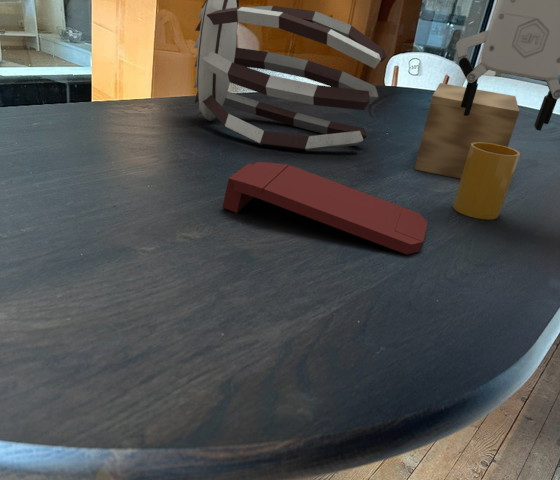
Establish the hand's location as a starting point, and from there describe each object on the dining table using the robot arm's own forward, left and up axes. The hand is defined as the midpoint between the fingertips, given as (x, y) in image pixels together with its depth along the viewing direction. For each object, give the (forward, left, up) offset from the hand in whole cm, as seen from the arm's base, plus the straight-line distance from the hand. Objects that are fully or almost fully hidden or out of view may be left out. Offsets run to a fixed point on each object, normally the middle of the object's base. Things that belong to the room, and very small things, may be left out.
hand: (501, 121), depth 80 cm
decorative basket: (+38, -22, -13) cm, 45 cm away
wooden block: (+4, -26, -13) cm, 29 cm away
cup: (0, 0, -13) cm, 13 cm away
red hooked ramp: (+19, +18, -13) cm, 29 cm away
